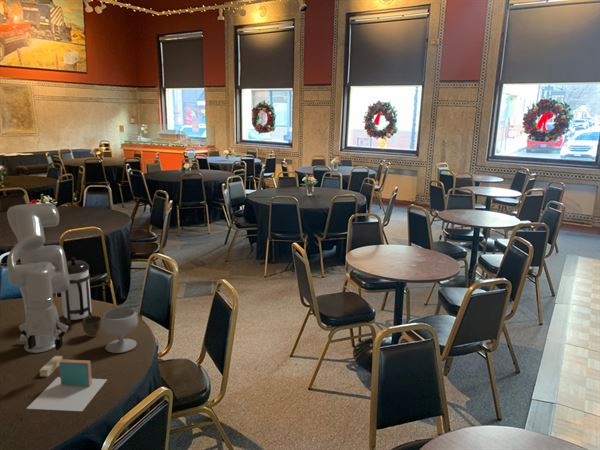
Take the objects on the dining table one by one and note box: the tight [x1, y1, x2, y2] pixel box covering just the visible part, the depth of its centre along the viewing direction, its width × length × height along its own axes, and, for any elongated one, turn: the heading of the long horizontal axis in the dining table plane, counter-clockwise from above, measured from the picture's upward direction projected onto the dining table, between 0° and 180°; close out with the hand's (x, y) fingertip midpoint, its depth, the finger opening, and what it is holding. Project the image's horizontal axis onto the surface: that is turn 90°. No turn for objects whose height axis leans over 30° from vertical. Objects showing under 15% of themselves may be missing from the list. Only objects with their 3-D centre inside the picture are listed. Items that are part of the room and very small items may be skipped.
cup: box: [81, 315, 102, 338], centre depth 192 cm, size 8×7×8 cm
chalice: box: [100, 307, 139, 354], centre depth 183 cm, size 14×14×15 cm
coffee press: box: [60, 256, 93, 325], centre depth 205 cm, size 17×16×30 cm
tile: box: [58, 358, 93, 387], centre depth 154 cm, size 10×2×9 cm, turn 89°
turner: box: [39, 355, 64, 378], centre depth 160 cm, size 17×5×4 cm, turn 179°
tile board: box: [25, 376, 108, 412], centre depth 150 cm, size 18×18×2 cm
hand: (45, 347), depth 159 cm, fingers open, 9 cm apart
